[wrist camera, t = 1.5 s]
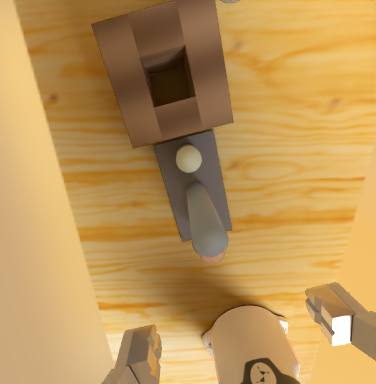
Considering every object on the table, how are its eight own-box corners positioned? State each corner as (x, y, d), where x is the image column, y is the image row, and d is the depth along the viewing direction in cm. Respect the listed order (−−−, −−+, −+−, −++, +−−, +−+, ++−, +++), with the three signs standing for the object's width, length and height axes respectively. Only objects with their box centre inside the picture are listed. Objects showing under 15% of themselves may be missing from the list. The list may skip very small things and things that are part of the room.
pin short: (199, 162, 28) (204, 169, 23) (179, 167, 28) (179, 175, 23) (195, 141, 27) (198, 143, 22) (174, 147, 27) (172, 150, 22)
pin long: (207, 198, 30) (231, 252, 16) (188, 202, 30) (196, 260, 17) (203, 179, 29) (224, 221, 15) (184, 184, 29) (188, 230, 16)
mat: (231, 228, 32) (232, 230, 32) (182, 240, 32) (182, 242, 32) (212, 130, 27) (213, 130, 26) (153, 145, 27) (153, 145, 27)
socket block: (222, 124, 27) (233, 122, 21) (142, 144, 27) (133, 148, 21) (204, 24, 23) (213, -11, 17) (112, 50, 23) (91, 24, 17)
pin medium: (215, 229, 32) (226, 260, 24) (197, 233, 32) (202, 266, 24) (211, 213, 31) (222, 240, 23) (192, 217, 31) (197, 246, 23)
